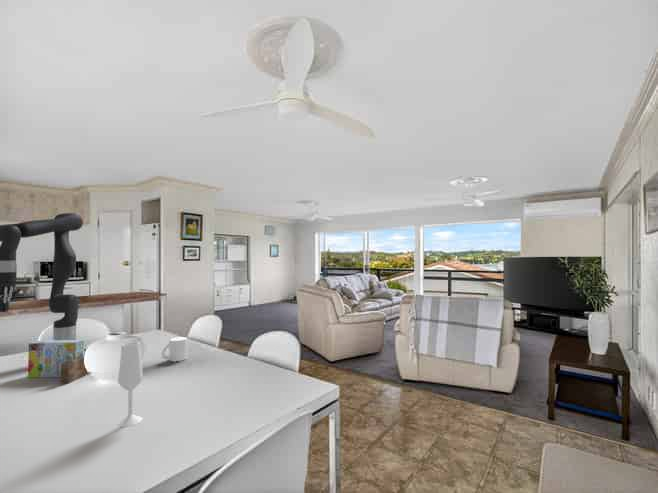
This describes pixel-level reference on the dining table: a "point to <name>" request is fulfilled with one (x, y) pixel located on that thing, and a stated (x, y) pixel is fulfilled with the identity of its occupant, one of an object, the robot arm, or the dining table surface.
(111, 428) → the dining table surface
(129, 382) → the champagne flute
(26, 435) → the dining table surface
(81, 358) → the block
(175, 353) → the mug
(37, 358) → the snack box
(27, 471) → the dining table surface
